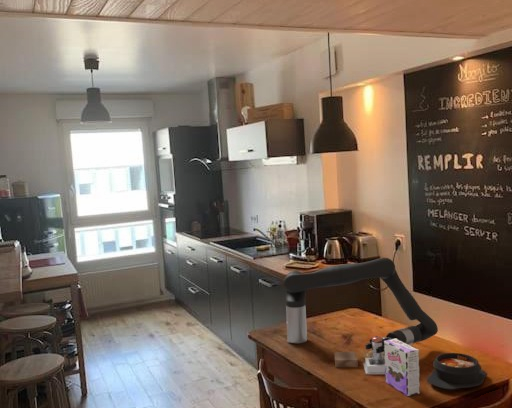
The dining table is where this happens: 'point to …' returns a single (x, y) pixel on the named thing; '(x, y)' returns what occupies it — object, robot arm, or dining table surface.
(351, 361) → the mount
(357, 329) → the dining table surface
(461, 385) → the casserole
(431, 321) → the robot arm
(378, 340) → the canister
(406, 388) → the candy box
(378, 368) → the socket
